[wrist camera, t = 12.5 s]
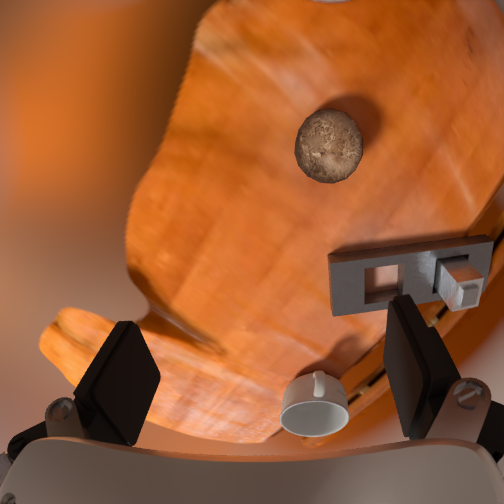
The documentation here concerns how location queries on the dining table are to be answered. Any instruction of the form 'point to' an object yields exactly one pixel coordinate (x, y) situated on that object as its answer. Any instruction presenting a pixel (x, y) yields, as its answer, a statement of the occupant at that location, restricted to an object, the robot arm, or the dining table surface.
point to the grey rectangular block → (458, 282)
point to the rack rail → (400, 272)
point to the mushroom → (328, 146)
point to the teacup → (314, 405)
